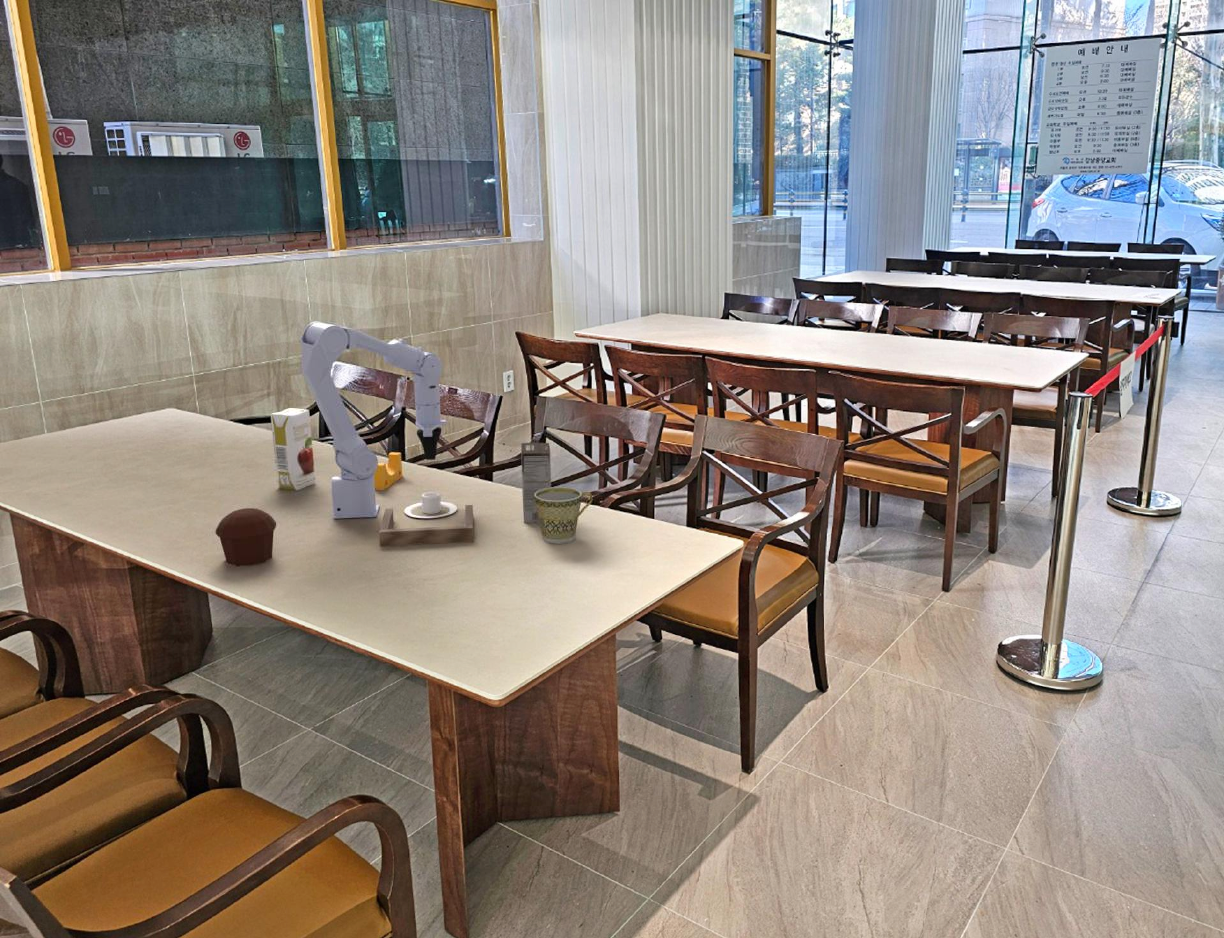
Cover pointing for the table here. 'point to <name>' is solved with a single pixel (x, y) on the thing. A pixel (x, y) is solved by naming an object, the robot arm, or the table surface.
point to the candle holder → (431, 506)
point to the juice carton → (293, 448)
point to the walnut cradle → (425, 532)
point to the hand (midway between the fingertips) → (430, 459)
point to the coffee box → (534, 476)
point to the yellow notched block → (388, 472)
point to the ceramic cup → (559, 512)
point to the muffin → (247, 536)
